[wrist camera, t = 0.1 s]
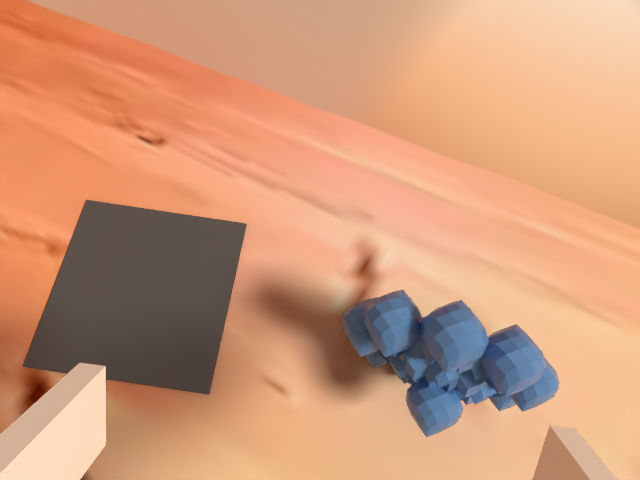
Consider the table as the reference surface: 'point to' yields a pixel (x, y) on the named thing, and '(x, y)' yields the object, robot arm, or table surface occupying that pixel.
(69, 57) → the table surface
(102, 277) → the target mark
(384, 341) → the grapes
